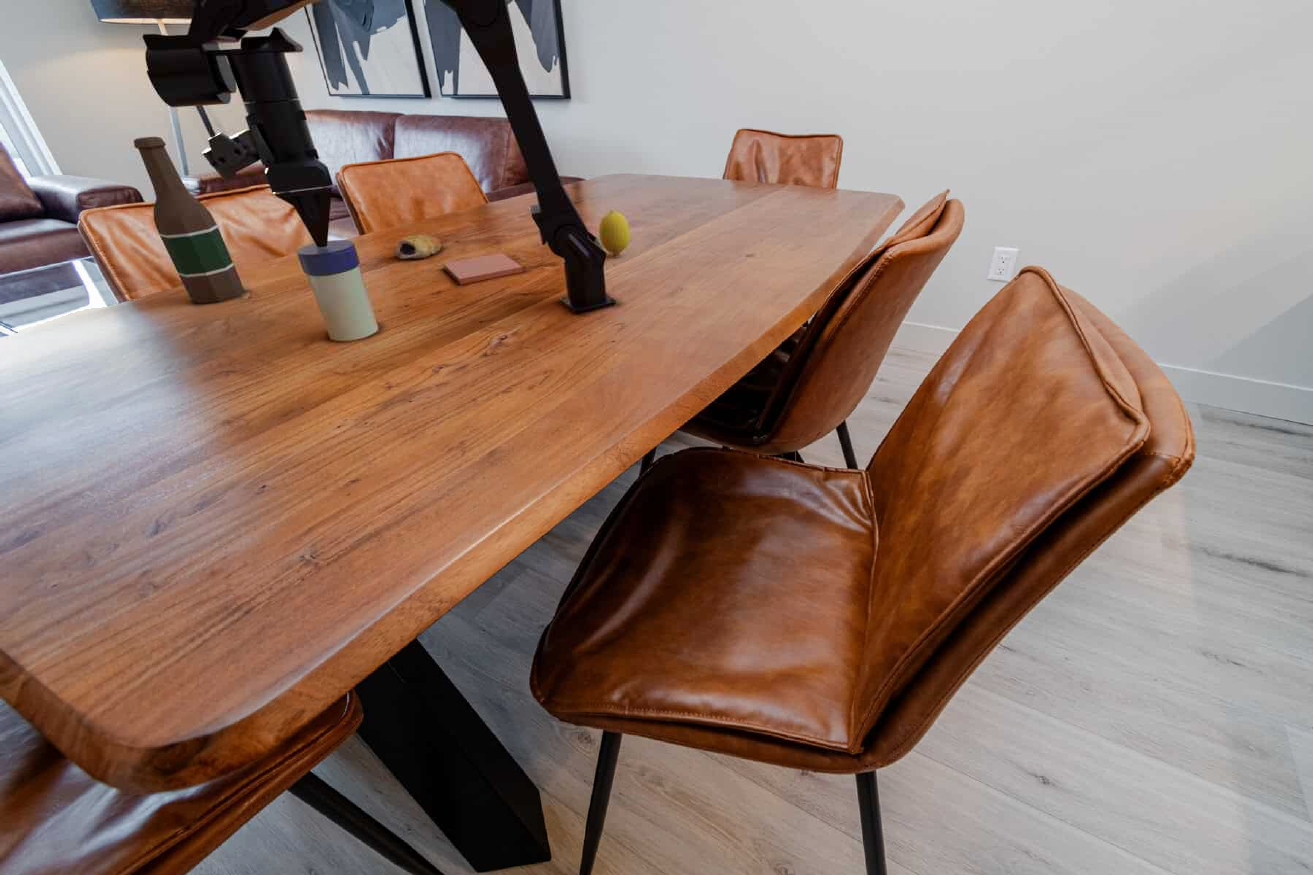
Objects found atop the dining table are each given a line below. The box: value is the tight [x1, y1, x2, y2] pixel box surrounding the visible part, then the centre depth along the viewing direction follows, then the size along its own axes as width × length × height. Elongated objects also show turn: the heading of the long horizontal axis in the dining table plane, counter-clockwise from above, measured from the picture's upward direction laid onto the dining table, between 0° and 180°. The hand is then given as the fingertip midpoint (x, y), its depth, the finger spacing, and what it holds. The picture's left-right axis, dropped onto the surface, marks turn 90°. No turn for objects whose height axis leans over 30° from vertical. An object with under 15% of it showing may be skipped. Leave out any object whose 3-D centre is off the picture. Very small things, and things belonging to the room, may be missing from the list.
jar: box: [306, 264, 379, 342], centre depth 81 cm, size 6×6×11 cm
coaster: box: [443, 252, 524, 285], centre depth 106 cm, size 11×11×1 cm
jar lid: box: [296, 239, 361, 275], centre depth 78 cm, size 7×7×3 cm
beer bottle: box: [133, 136, 244, 305], centre depth 94 cm, size 8×8×24 cm
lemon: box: [598, 209, 631, 257], centre depth 108 cm, size 6×6×8 cm
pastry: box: [394, 234, 442, 260], centre depth 117 cm, size 9×7×4 cm
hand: (319, 240), depth 77 cm, fingers open, 8 cm apart
